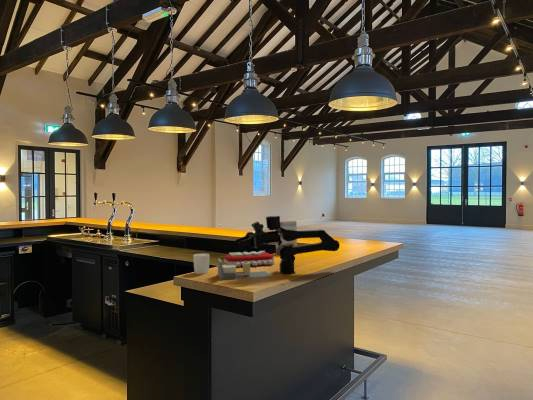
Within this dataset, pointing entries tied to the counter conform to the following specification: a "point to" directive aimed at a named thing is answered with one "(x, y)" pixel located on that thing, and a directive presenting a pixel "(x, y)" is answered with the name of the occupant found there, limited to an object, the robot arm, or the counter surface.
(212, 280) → the counter surface
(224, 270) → the rod-linked cube pair
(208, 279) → the counter surface
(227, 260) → the word lettering
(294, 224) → the cracker box
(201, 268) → the white cup
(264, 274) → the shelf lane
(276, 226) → the robot arm
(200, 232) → the counter surface
